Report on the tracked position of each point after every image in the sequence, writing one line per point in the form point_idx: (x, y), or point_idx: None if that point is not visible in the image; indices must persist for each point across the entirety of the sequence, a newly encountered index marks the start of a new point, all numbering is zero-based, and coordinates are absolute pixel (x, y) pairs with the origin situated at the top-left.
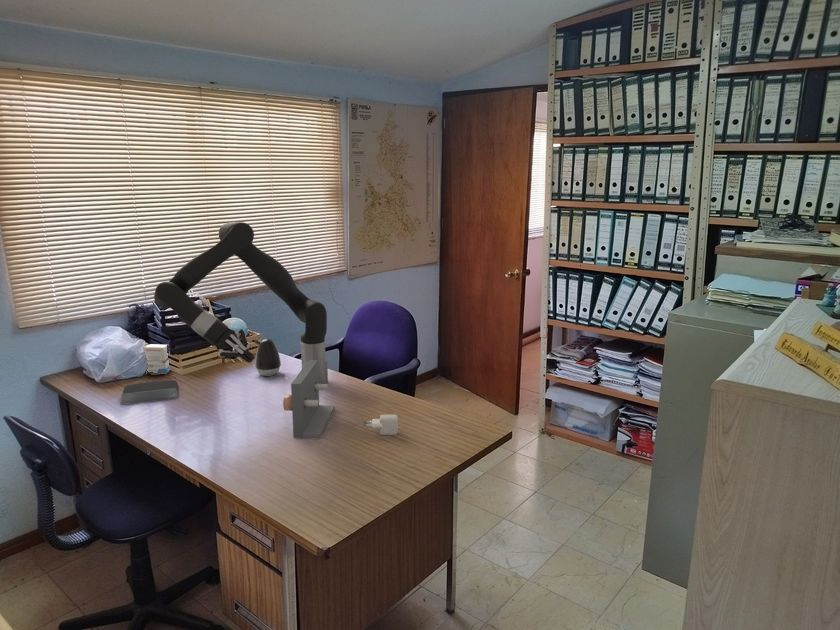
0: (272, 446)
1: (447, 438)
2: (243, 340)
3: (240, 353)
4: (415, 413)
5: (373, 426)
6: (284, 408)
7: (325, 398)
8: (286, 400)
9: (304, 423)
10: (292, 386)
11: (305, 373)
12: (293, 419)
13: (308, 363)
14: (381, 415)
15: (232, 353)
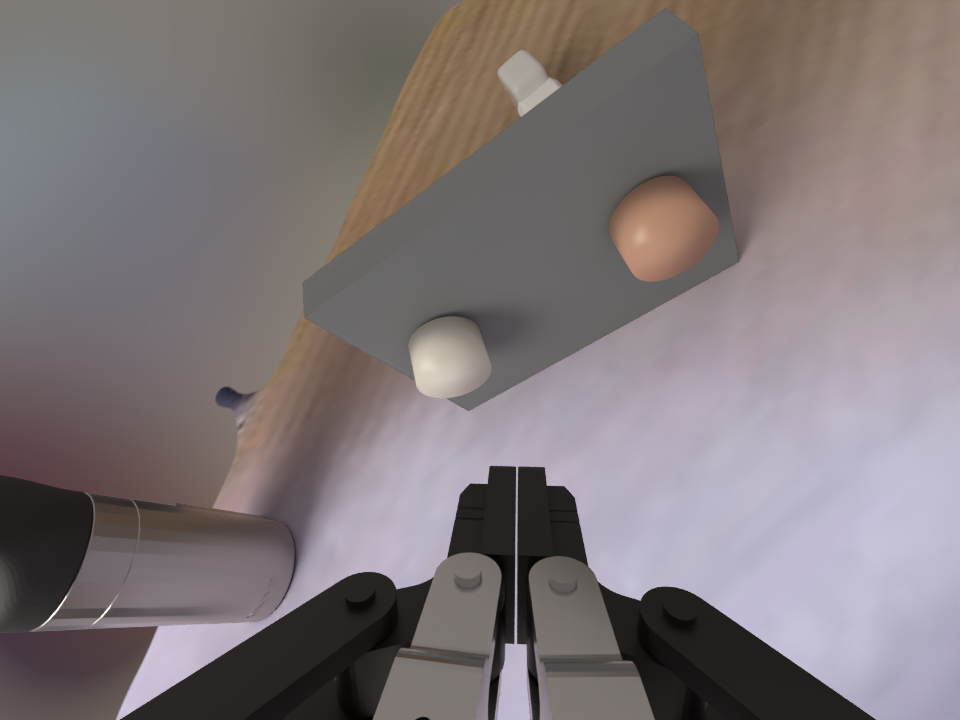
0: (881, 260)
1: (513, 28)
2: (301, 668)
3: (596, 592)
4: (412, 165)
5: None
6: (713, 233)
7: (375, 431)
8: (695, 198)
9: None
10: (695, 48)
11: (493, 149)
12: (726, 204)
13: (350, 275)
14: (519, 82)
15: (764, 703)
